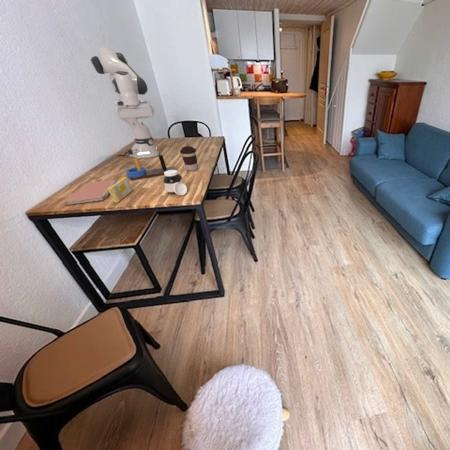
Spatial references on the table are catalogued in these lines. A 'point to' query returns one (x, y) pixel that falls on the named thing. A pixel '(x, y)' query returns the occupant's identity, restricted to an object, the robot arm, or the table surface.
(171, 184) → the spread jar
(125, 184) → the candy box
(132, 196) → the table surface
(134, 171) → the tape roll
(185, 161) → the coffee cup
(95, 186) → the notebook
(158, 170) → the peg rack
